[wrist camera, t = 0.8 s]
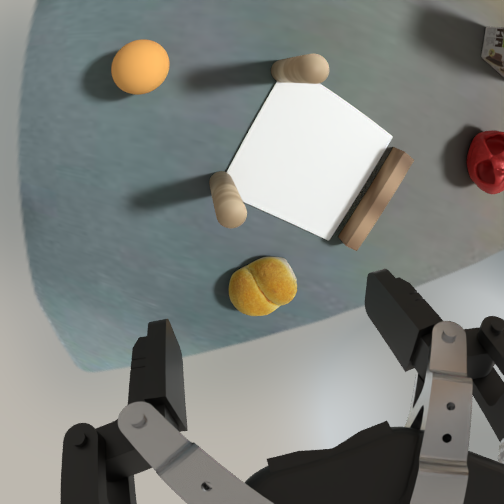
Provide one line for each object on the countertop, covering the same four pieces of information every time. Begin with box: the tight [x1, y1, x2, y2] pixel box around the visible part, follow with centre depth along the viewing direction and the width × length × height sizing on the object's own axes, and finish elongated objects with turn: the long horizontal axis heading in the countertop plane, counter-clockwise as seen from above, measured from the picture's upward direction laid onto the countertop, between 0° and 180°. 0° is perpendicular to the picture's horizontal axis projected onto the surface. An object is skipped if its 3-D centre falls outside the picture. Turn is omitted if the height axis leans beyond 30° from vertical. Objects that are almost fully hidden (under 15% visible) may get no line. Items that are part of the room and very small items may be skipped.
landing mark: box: [226, 81, 393, 241], centre depth 35 cm, size 16×16×1 cm
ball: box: [111, 40, 169, 94], centre depth 25 cm, size 6×6×6 cm
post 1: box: [209, 171, 247, 228], centre depth 31 cm, size 3×3×9 cm
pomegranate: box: [467, 131, 504, 194], centre depth 35 cm, size 10×10×9 cm
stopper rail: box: [338, 147, 414, 251], centre depth 38 cm, size 14×2×2 cm, turn 151°
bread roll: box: [229, 257, 297, 316], centre depth 41 cm, size 8×9×4 cm
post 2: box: [271, 54, 329, 84], centre depth 26 cm, size 3×3×9 cm
